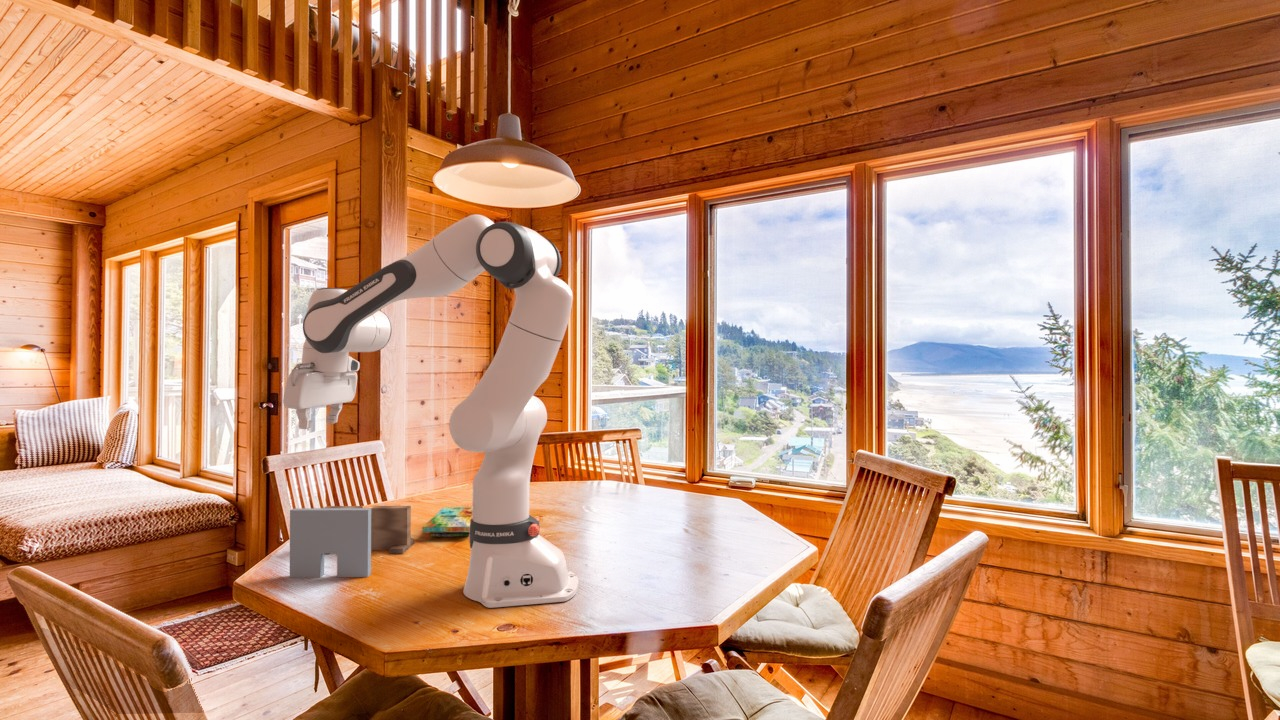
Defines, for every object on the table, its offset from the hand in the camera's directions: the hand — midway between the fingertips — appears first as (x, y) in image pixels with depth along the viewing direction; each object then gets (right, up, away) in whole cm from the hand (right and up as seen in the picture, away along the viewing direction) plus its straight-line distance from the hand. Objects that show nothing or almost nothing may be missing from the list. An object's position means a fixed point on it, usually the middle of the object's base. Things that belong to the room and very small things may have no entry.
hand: (318, 425), depth 129 cm
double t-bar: (+4, -31, +14) cm, 34 cm away
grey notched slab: (+5, -31, -4) cm, 32 cm away
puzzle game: (+20, -32, +31) cm, 49 cm away
